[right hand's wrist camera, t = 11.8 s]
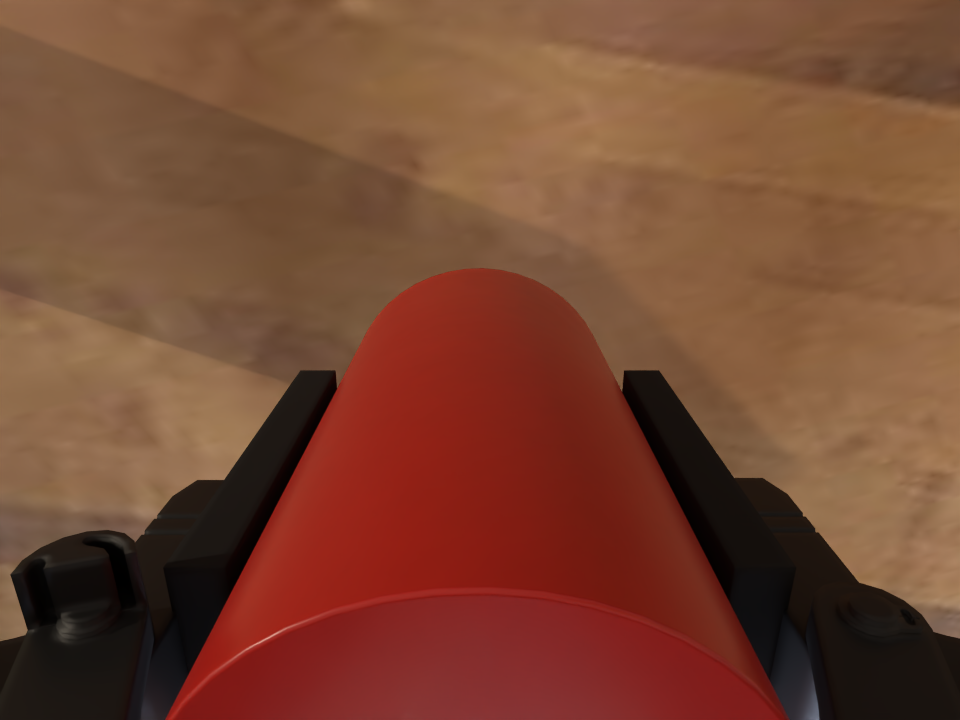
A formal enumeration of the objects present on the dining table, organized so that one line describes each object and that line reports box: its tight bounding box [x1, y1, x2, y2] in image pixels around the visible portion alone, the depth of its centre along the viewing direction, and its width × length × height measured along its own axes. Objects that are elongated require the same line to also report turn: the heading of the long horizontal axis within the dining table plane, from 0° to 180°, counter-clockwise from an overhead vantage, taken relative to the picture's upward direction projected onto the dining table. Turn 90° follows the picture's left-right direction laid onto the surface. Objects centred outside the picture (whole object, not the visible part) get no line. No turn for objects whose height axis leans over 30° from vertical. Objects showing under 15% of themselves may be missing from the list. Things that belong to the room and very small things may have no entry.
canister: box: [165, 268, 789, 720], centre depth 11 cm, size 6×6×11 cm
